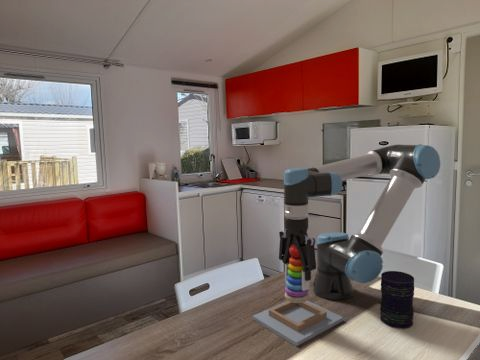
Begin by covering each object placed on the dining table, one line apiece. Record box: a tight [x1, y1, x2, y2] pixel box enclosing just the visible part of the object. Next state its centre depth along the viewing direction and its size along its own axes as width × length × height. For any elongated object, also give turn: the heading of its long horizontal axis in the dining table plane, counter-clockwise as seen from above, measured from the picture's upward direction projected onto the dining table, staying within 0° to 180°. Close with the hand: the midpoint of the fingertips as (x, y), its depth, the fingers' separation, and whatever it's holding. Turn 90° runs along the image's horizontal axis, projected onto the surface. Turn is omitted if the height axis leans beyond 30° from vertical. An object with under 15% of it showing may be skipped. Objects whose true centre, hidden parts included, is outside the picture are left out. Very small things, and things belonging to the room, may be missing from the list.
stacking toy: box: [284, 245, 310, 303], centre depth 113 cm, size 8×8×19 cm
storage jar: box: [379, 270, 415, 330], centre depth 112 cm, size 10×10×15 cm
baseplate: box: [252, 300, 344, 347], centre depth 115 cm, size 22×20×3 cm
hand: (296, 285), depth 114 cm, fingers closed on stacking toy, 7 cm apart
